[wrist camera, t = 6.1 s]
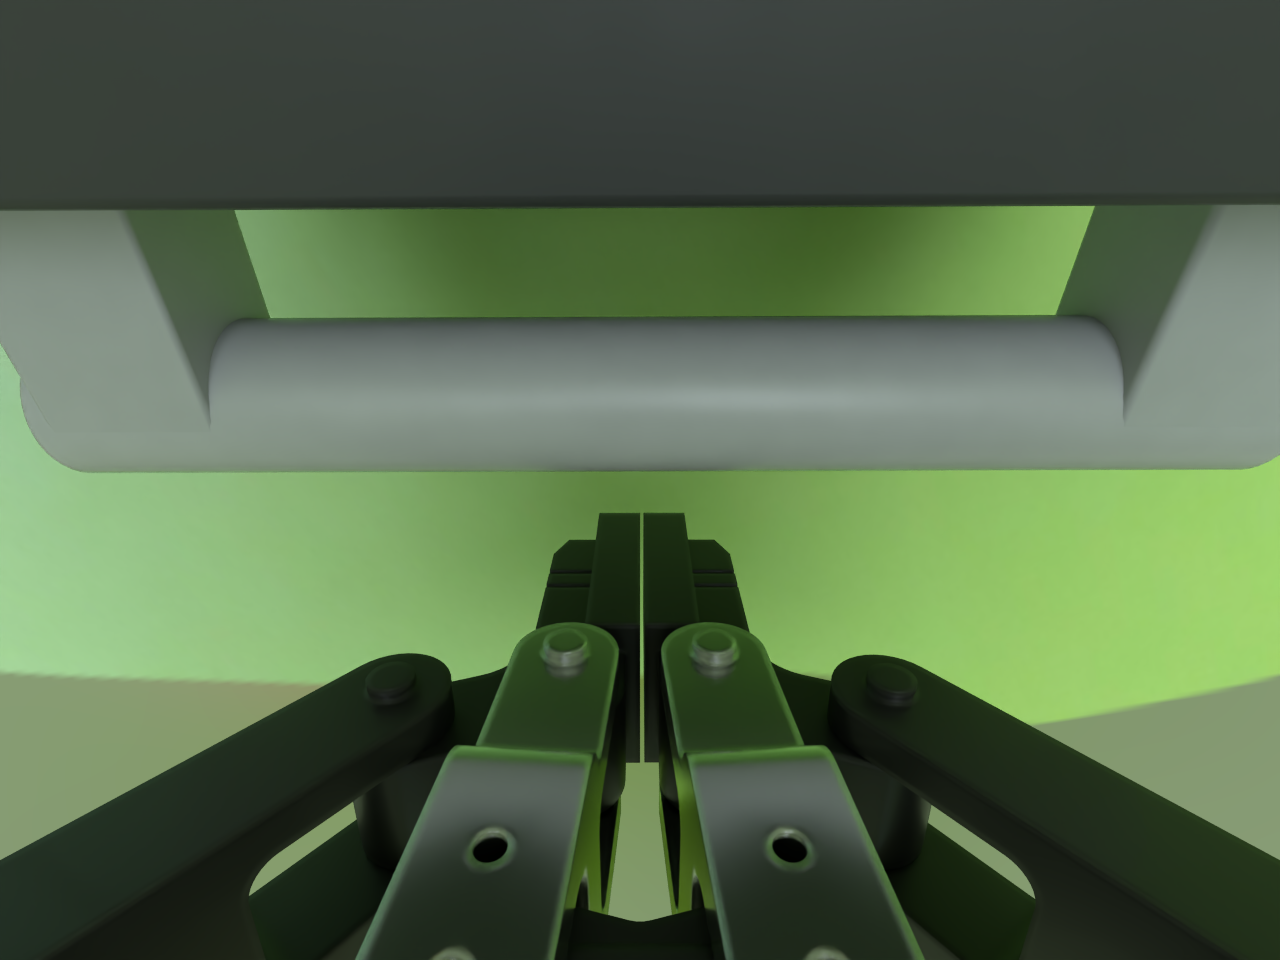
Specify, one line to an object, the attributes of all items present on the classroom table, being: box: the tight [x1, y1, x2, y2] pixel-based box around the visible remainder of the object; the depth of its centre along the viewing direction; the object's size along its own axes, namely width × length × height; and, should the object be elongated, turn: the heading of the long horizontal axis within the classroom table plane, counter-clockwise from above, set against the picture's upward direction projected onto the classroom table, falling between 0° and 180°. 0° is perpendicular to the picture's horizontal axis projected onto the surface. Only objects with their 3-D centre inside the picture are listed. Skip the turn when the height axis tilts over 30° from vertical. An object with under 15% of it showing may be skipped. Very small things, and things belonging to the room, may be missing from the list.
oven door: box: [0, 0, 1280, 473], centre depth 9 cm, size 5×16×13 cm, turn 90°
